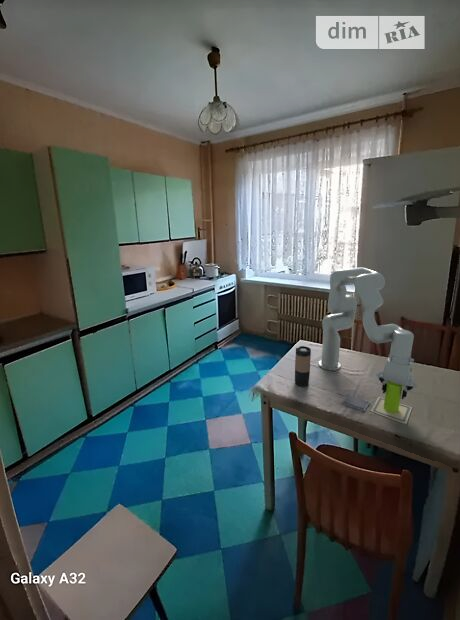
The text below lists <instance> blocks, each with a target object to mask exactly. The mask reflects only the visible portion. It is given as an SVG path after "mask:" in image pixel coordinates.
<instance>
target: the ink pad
mask: <svg viewBox="0 0 460 620" xmlns="http://www.w3.org/2000/svg"><path fill="white" fill-rule="evenodd" d="M370 404H371V403H370V401H368V400H365V399H364V398H363V399H362V398H360V397H356V396H354V395H352V394H347V395H346V396H345V398H344V399H343V400H342V402H341V405H344V406H347V407H350V408H352V409H355V410H357V411H361V412H363V413H365V412H366V410H367V409H368V407H369V405H370Z"/></svg>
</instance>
